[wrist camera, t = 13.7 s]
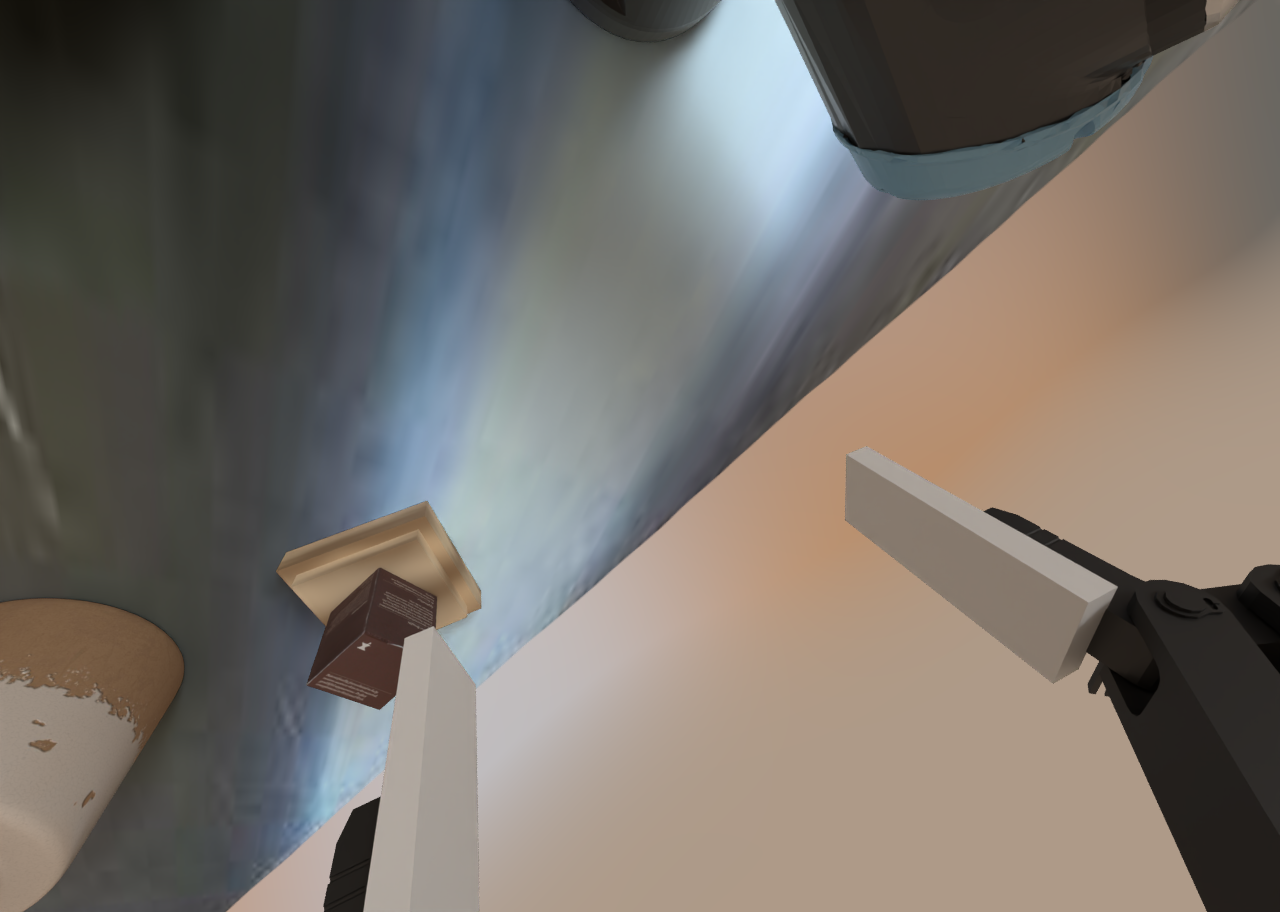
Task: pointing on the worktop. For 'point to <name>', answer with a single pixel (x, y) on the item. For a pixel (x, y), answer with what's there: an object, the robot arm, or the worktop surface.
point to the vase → (70, 728)
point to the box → (371, 639)
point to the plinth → (382, 534)
